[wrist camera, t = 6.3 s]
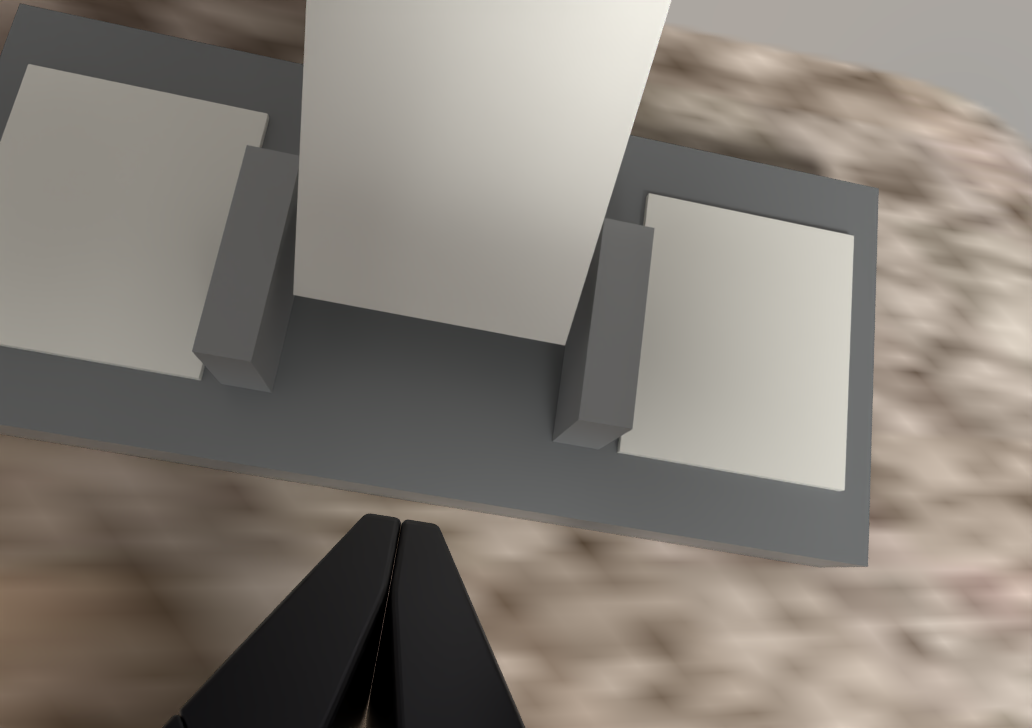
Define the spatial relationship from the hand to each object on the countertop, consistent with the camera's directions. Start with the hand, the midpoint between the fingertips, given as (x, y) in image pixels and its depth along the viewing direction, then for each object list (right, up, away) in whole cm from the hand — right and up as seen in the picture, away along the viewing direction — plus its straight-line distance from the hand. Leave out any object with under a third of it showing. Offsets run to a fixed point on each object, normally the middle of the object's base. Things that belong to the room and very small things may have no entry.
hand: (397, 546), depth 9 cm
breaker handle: (0, +3, +6) cm, 7 cm away
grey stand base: (-1, +3, +10) cm, 11 cm away
